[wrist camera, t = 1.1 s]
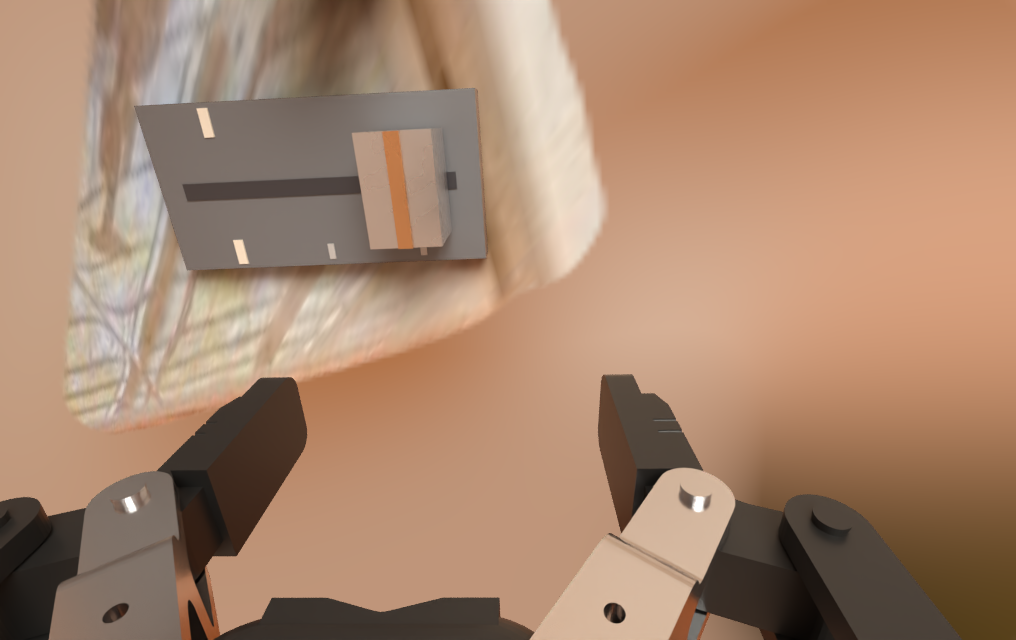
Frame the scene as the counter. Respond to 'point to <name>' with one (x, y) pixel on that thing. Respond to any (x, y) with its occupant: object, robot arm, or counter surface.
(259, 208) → the slider panel
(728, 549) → the robot arm
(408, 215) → the slider knob
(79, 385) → the counter surface
